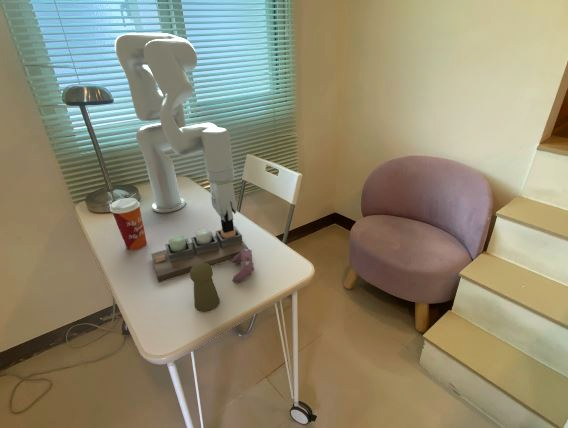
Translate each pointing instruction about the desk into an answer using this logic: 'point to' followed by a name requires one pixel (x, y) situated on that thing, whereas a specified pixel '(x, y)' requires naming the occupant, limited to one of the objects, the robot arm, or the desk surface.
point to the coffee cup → (129, 222)
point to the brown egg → (228, 234)
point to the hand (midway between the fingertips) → (228, 230)
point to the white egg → (203, 236)
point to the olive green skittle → (204, 288)
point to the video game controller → (243, 265)
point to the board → (196, 255)
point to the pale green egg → (177, 244)
